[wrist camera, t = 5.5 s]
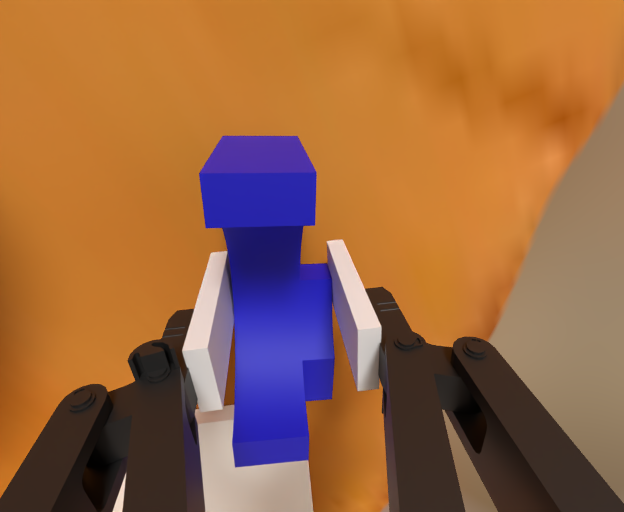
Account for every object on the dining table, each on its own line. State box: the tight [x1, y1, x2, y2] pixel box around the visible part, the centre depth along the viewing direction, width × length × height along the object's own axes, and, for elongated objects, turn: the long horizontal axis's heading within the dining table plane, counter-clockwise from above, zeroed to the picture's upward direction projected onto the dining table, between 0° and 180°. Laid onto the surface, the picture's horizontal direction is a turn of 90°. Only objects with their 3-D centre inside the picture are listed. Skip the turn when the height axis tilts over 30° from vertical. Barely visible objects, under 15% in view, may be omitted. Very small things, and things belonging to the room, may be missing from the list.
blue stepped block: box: [199, 136, 335, 468], centre depth 15 cm, size 12×4×6 cm, turn 179°
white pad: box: [113, 405, 313, 512], centre depth 27 cm, size 16×16×1 cm
